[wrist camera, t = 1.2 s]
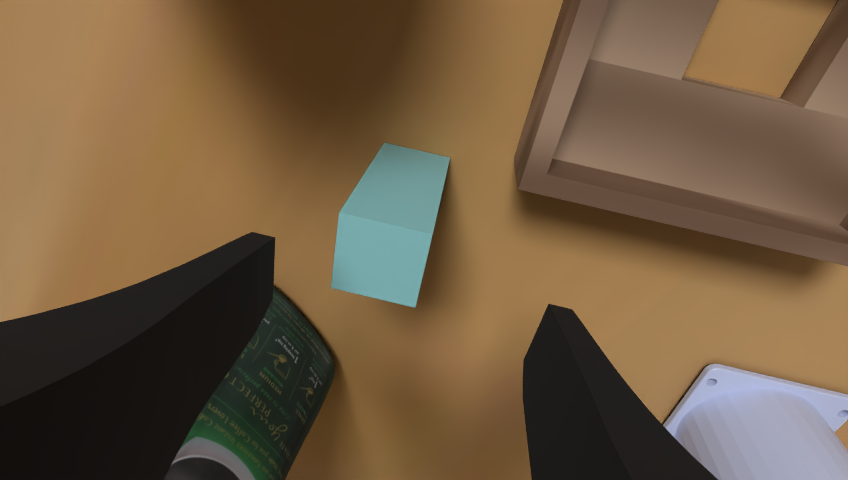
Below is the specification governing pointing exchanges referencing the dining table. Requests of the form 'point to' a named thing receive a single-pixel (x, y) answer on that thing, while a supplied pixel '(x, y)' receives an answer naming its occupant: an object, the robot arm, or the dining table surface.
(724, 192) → the socket box
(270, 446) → the coffee jar
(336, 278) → the peg
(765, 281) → the dining table surface
